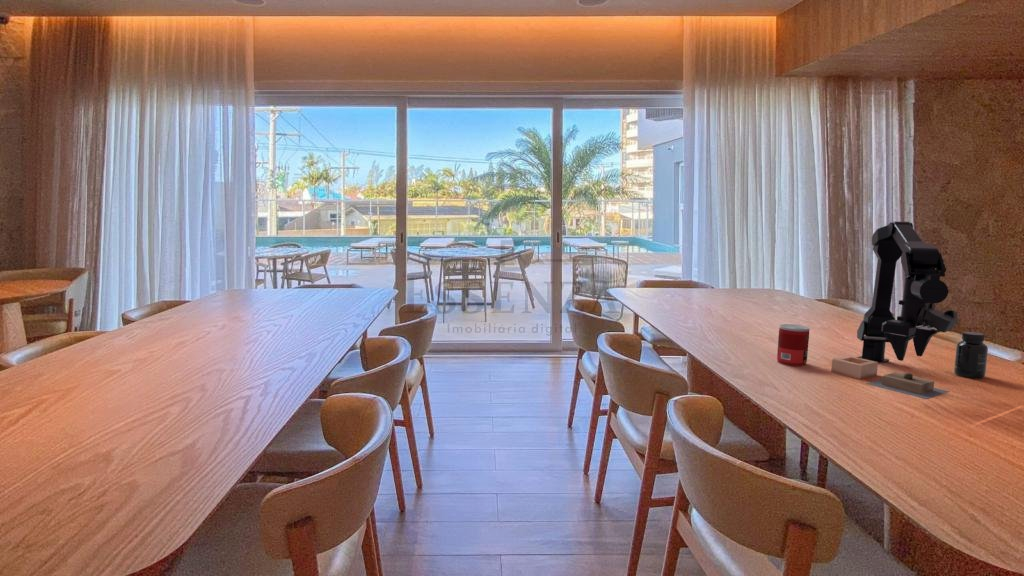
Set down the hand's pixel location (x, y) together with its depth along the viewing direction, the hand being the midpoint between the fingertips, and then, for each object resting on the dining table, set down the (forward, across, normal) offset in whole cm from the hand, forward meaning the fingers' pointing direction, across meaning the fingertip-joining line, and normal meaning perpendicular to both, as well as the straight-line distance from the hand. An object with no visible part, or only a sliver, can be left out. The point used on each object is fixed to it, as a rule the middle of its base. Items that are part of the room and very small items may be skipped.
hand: (910, 358), depth 146 cm
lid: (+8, 0, 0) cm, 8 cm away
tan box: (+8, +1, +14) cm, 16 cm away
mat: (+8, 0, 0) cm, 8 cm away
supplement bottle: (+8, +29, -2) cm, 30 cm away
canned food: (+8, -3, +30) cm, 31 cm away
